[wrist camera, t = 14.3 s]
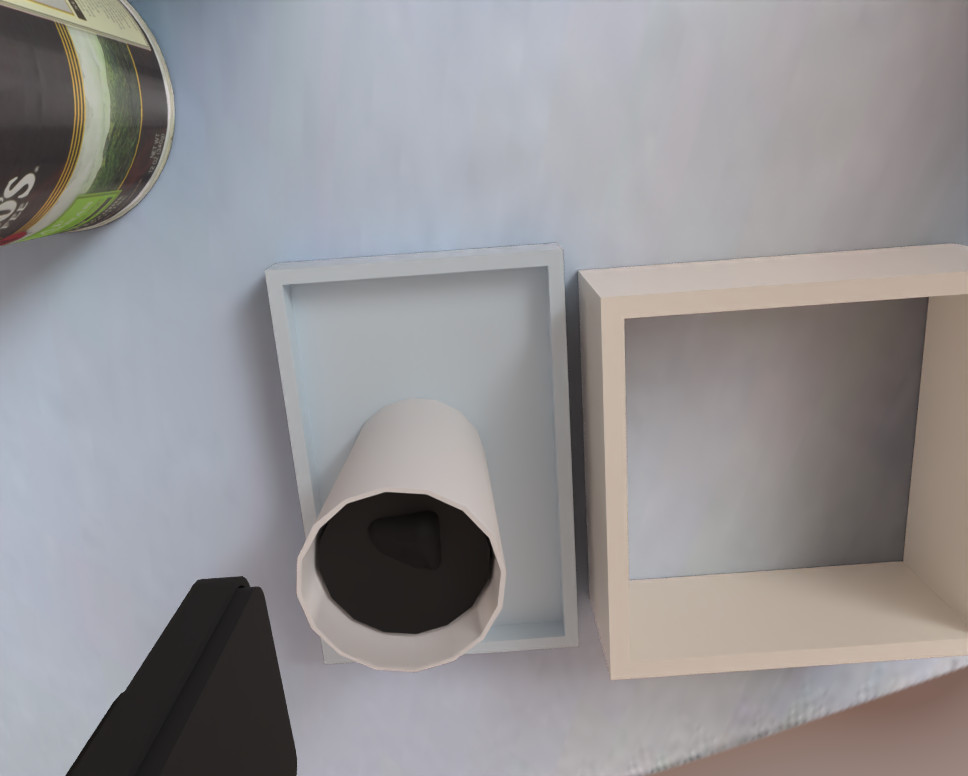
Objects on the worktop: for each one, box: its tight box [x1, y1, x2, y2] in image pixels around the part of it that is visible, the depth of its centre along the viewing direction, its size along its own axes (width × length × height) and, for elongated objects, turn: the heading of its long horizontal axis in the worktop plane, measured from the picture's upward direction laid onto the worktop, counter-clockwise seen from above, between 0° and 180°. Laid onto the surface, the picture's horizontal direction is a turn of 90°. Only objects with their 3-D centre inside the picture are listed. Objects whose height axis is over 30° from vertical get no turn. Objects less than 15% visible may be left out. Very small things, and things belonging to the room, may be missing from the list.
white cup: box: [296, 398, 506, 672], centre depth 30 cm, size 7×7×10 cm
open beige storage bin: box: [578, 243, 968, 680], centre depth 32 cm, size 16×16×6 cm
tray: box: [265, 243, 579, 664], centre depth 34 cm, size 12×18×2 cm, turn 4°
